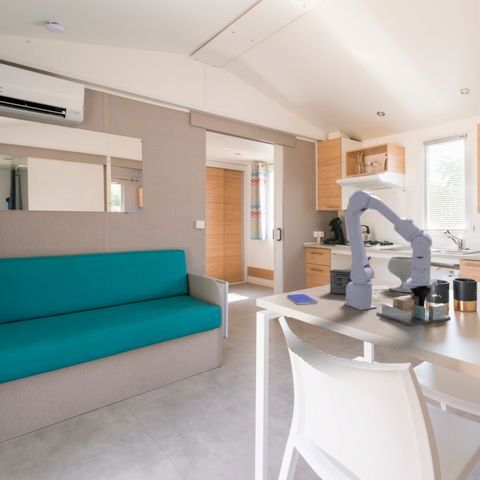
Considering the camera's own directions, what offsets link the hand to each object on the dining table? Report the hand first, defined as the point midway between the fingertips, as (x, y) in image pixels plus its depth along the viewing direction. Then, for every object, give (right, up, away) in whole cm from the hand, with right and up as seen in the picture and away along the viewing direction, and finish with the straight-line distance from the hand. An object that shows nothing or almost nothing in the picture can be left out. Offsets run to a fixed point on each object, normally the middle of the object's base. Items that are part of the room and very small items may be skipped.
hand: (419, 307), depth 114 cm
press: (-3, -3, -1) cm, 4 cm away
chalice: (+14, 0, +39) cm, 42 cm away
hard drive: (-37, -2, +23) cm, 43 cm away
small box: (-16, -1, +34) cm, 37 cm away
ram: (-3, -2, -1) cm, 4 cm away
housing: (-7, -2, -3) cm, 8 cm away
